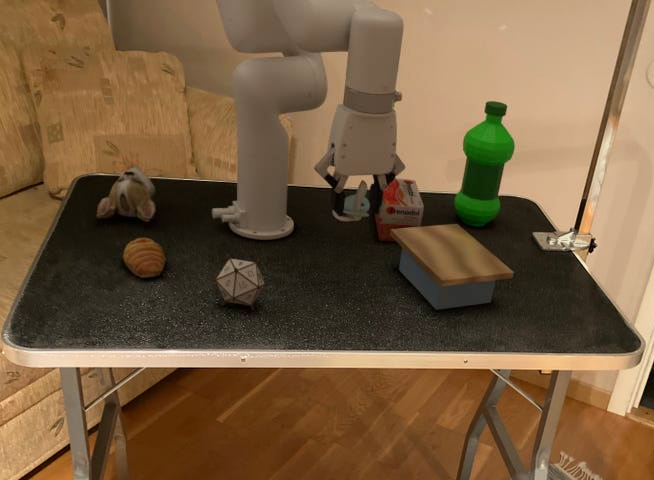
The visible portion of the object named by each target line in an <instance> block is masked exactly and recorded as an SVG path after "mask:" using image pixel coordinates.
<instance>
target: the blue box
mask: <svg viewBox="0 0 654 480" xmlns="http://www.w3.org/2000/svg"><path fill="white" fill-rule="evenodd" d="M398 271H400V273H402V275H403V276H404V277H405V278H406V279H407V280H408V281H409V282H410V283H411V284H412V286H414V288H415V289H416V290H417V291H418V292H419V293H420V294H421V295H422V296H423V298H424V299H425V300H427V301H428V303H429V304H430V305H431V306H432V307H433V308H434V309H435V310H445V309H452V308H453V309H454V308H461V307H467V306H475V305H483V304H489V303H490V304H491V303H492V298H493V294H494V289H495V285H496V280H493V281H485V282H476V283H468V284H460V285H451V286H443V287H441V286H440V285H439V284H438V283H437V282H436V281H435V280H434V279H433V278H432V277H431V276H430V275H429V274H428V273H427V272H426V271H425V270H424V269H423V268H422V267H421V266H420V265H419V264H418V263H417V262H416V261H415V260H414V259H413V258H412V257H411V256H410V255H409V254H408V253H407V252H406V251H405V250H404V249H403V248H402V247H401V253H400V260H399V267H398Z"/></svg>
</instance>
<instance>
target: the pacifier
mask: <svg viewBox="0 0 654 480" xmlns="http://www.w3.org/2000/svg"><path fill="white" fill-rule="evenodd" d="M356 189H357V190H356V192H355V194H352V195H349V196H347V197H345V203H344V211H343V214H346V216H344V215H342V216H338V215H337V213H336V212H335V211H334V210H333V209H332V215H333V216H334V218H336V219H337V220H338V221H342V222H352V221H353V222H355V221H356V222H359V221H361V220H362V218H365V217H366V218H367V217H370V214H369V213H368V211H369V210H370V208H369V207H370V203H369V201H368V200H369V198H367V197H366V194H367V193H368V183H367V182H366V181H365V180H361V181H360V183H359V184H358V187H357V188H356Z"/></svg>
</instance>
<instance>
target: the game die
mask: <svg viewBox="0 0 654 480" xmlns="http://www.w3.org/2000/svg"><path fill="white" fill-rule="evenodd" d="M226 258H227V261H226V262H225V264H224V265H223V267H222V268H221V270H220V271H219V273H218V274H217V276H216V278H213V277H212V278H210V279H209V281H211V282H215V283H216V286H217V288H218V290H219V293H220V295H221V297H222V298H223V301H222V302H221V306H225V304H226V303H229V304H230V303H231V304H236V305H242V306H249V307H250V310H252V311H255V307H254V303H255V302H256V300H257V299H258V297H259V295H260V293H261V292H262V291H263V289H264V287H265V286H266V287H268V286H270V285H271V283H269V282H265V279H264V277H263V274H262V272H261V270H260V267H259V265H258V264H259V262H260V261H261V259H260V258H256V259H255V261H252V260H251V261H250V260H244V259H240V258H239V259H238V258H232V257H231V254H229V253H228V252H227V253H226Z"/></svg>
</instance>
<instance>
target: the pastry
mask: <svg viewBox="0 0 654 480" xmlns="http://www.w3.org/2000/svg"><path fill="white" fill-rule="evenodd" d="M122 259H123V262H124V264H125V266H126V267H127V269H128V270H130V271H131V272H132V274H133V275H134V276H136V277H139V278H141V279H146V278H151V277H152V278H153V277H158V276H160V275H161V273H162V272H163V270H164V268H165V264H166V261H167V257H166V256H165V254H164V248H163V247H162V246H161V245H160V244H159V243H157V242H155V241H154V240H153V239H151V238H148V237H138V238H135V239H134V240H130V242H128V243H127V244H126V246H125V248H124V250H123V255H122Z"/></svg>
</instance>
